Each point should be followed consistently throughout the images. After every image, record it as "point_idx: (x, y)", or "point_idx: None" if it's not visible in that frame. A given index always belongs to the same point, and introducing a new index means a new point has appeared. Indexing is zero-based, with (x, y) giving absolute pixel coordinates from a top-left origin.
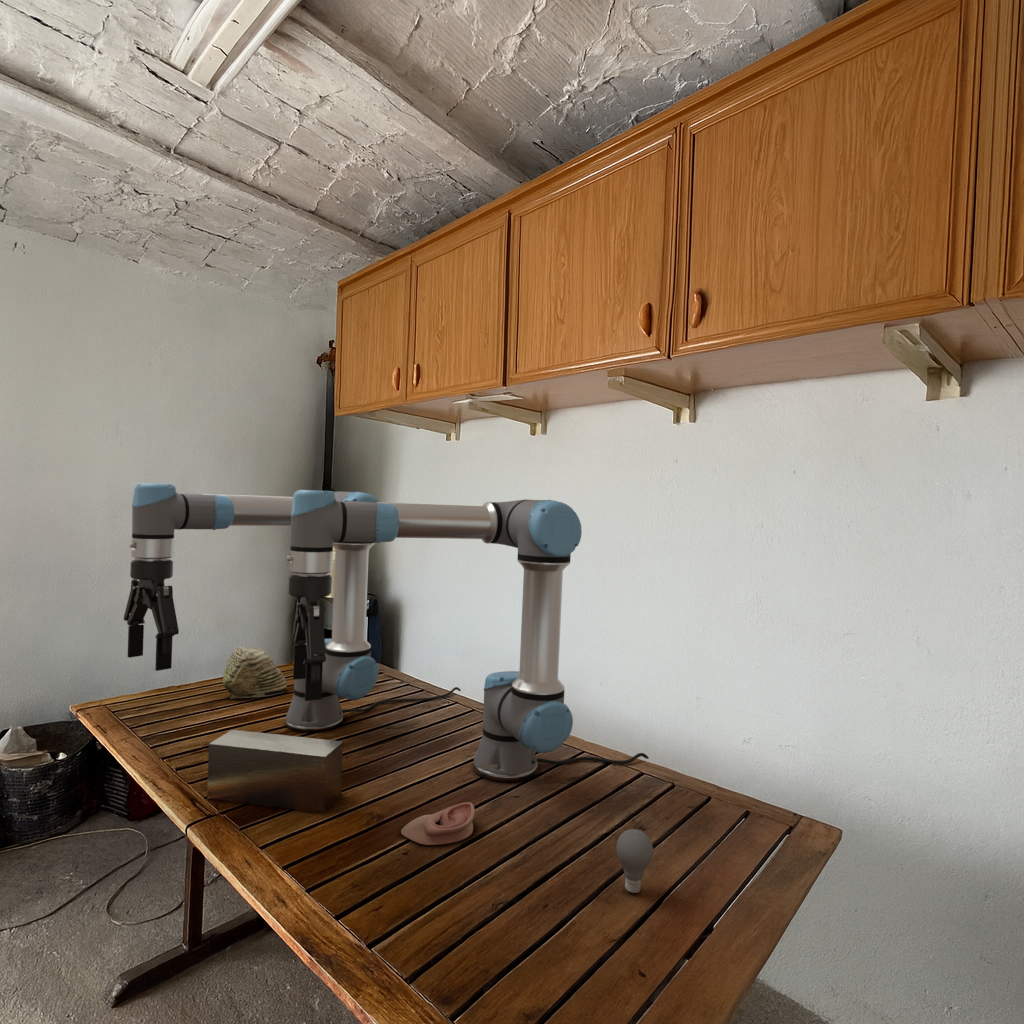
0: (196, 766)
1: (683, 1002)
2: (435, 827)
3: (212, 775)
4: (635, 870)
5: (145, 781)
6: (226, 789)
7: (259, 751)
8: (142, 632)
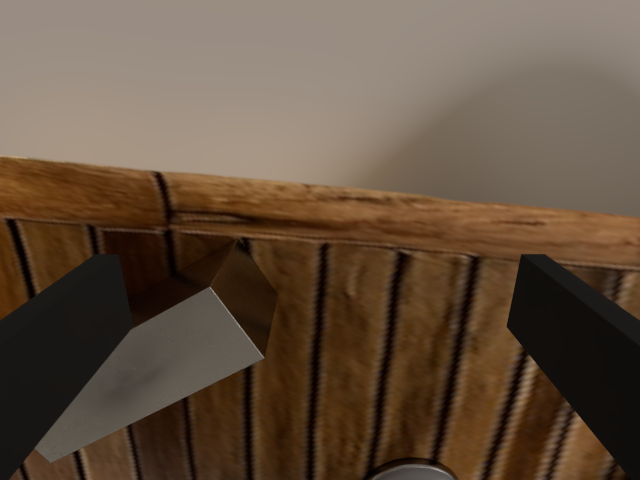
0: (387, 283)
1: None
2: None
3: (218, 260)
4: None
5: (395, 192)
6: (200, 264)
7: None
8: (611, 445)
